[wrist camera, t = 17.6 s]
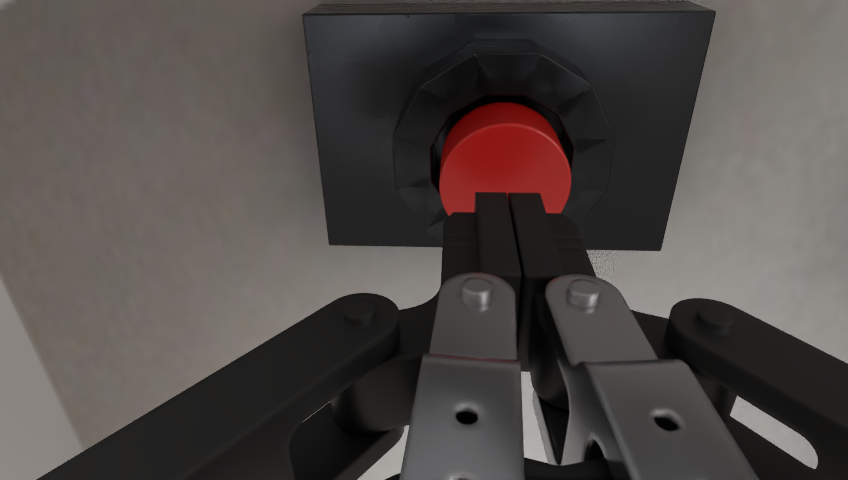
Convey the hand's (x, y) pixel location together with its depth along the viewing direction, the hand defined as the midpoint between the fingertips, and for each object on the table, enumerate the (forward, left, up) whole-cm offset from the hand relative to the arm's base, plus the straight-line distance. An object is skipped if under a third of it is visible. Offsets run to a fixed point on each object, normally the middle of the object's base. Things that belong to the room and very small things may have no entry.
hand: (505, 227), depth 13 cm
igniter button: (0, 0, -4) cm, 4 cm away
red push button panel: (0, 0, -8) cm, 8 cm away
